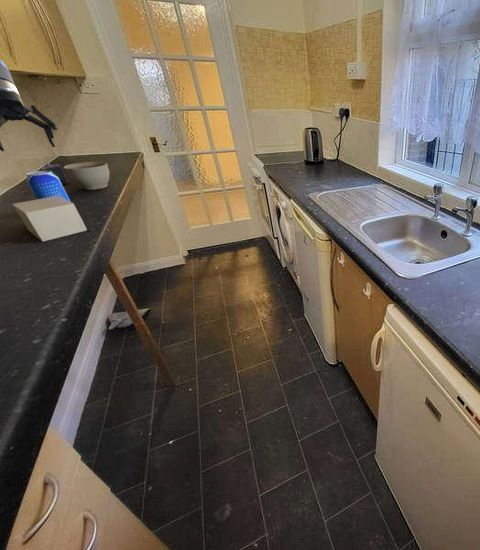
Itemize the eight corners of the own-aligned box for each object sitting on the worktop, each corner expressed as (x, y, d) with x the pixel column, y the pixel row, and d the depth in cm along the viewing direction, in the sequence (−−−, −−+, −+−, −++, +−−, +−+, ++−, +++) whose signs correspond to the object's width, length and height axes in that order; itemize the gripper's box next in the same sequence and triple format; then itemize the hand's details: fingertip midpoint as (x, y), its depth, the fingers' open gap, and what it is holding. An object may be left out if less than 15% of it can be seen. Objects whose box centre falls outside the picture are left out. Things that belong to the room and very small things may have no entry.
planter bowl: (72, 193, 138) (60, 169, 133) (78, 186, 150) (67, 163, 144) (114, 189, 146) (104, 166, 140) (117, 182, 157) (108, 160, 152)
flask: (52, 187, 147) (40, 164, 141) (47, 187, 147) (34, 164, 141) (70, 182, 154) (59, 161, 149) (65, 182, 155) (54, 161, 149)
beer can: (49, 220, 110) (23, 176, 101) (46, 215, 114) (21, 172, 106) (78, 215, 115) (56, 172, 106) (74, 210, 120) (53, 169, 111)
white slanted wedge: (29, 231, 101) (12, 203, 96) (71, 221, 109) (58, 195, 104) (42, 241, 94) (25, 213, 89) (87, 230, 103) (73, 203, 98)
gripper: (55, 103, 119) (75, 149, 118) (-38, 105, 105) (-17, 157, 104) (47, 88, 113) (68, 136, 112) (-54, 88, 99) (-30, 143, 98)
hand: (27, 146), depth 108 cm, fingers open, 13 cm apart
